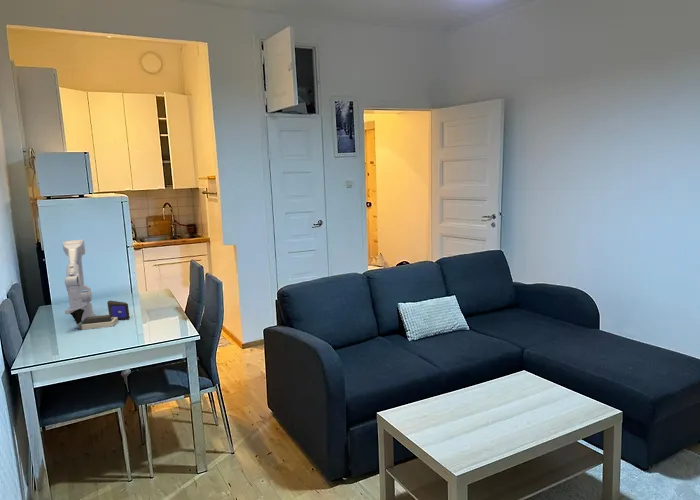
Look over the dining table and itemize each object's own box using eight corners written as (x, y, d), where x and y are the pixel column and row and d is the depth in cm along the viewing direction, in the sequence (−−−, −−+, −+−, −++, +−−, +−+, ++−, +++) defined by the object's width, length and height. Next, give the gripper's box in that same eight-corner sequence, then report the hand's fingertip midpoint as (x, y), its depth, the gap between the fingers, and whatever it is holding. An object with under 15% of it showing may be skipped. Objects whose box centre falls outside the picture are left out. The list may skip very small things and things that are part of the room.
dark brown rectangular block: (87, 326, 254) (85, 317, 253) (111, 323, 257) (110, 314, 256) (85, 328, 250) (83, 319, 249) (110, 325, 253) (108, 316, 252)
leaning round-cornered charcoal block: (104, 318, 267) (102, 301, 265) (112, 316, 271) (109, 299, 269) (123, 321, 259) (120, 304, 257) (130, 319, 262) (128, 302, 261)
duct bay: (88, 324, 256) (87, 319, 256) (118, 321, 259) (117, 316, 259) (82, 329, 248) (81, 325, 247) (113, 326, 250) (112, 321, 250)
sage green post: (85, 324, 256) (84, 318, 256) (88, 323, 256) (87, 318, 256) (78, 329, 247) (77, 324, 246) (80, 329, 247) (79, 324, 246)
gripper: (77, 295, 256) (81, 319, 258) (57, 302, 242) (61, 328, 244) (89, 295, 255) (93, 319, 257) (70, 301, 241) (74, 328, 243)
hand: (78, 323), depth 251 cm, fingers closed, pressing on sage green post
